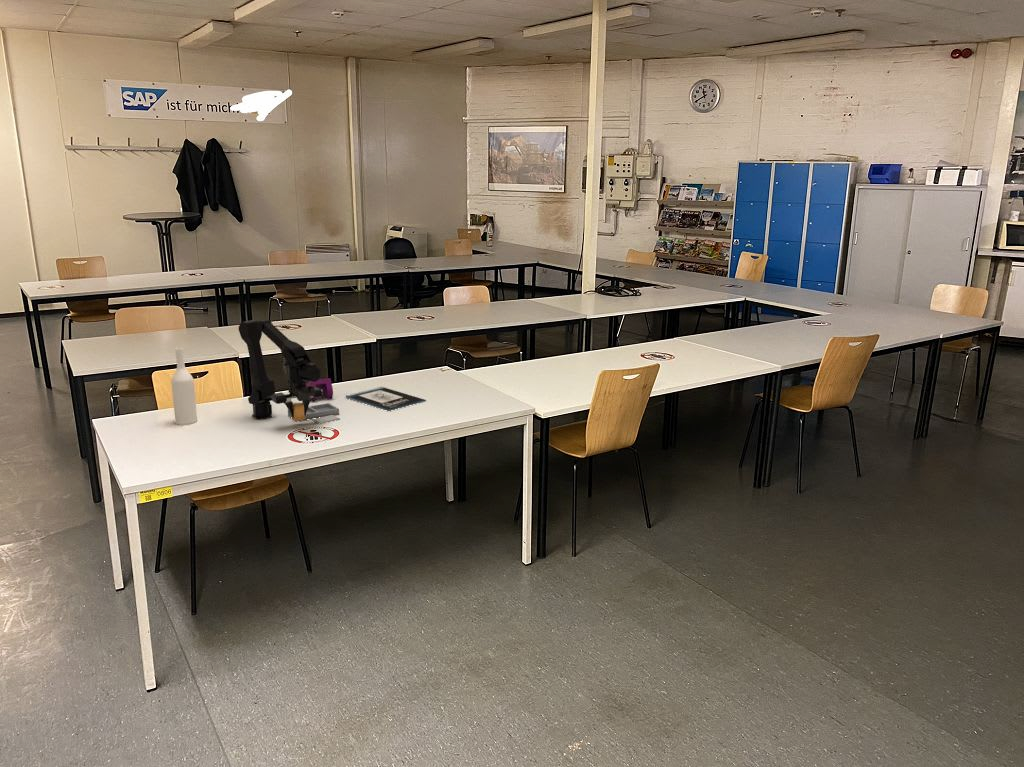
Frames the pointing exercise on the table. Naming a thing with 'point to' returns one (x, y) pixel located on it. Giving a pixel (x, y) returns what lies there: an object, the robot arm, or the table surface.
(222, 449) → the table surface
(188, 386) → the bottle
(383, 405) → the sketchbook
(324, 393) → the mounting bracket
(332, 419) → the lid
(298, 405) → the orange drawer knob
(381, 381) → the table surface
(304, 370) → the robot arm
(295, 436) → the table surface
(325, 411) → the housing
